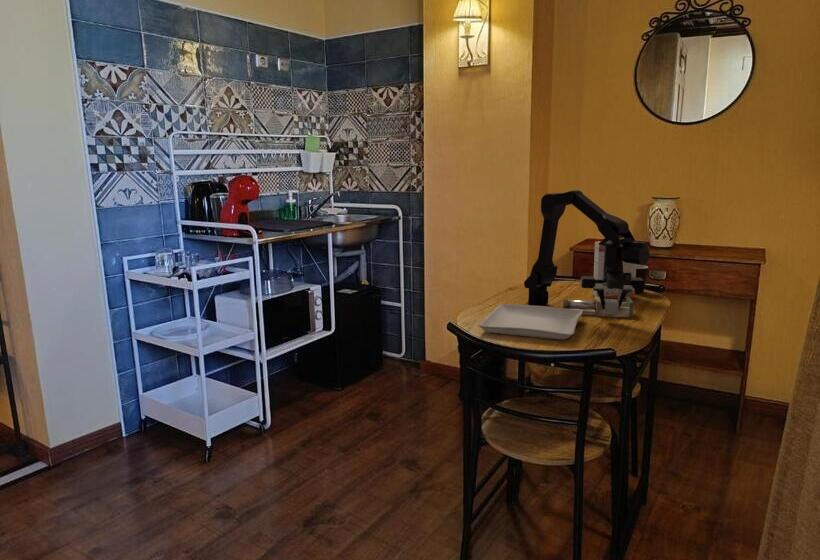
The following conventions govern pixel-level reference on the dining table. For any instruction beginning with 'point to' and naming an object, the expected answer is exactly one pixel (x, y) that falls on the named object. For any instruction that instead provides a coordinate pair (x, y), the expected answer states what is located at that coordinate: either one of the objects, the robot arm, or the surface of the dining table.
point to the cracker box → (599, 273)
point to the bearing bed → (623, 311)
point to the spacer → (611, 306)
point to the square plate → (532, 321)
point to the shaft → (579, 304)
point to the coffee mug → (641, 274)
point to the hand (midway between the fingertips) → (610, 309)
